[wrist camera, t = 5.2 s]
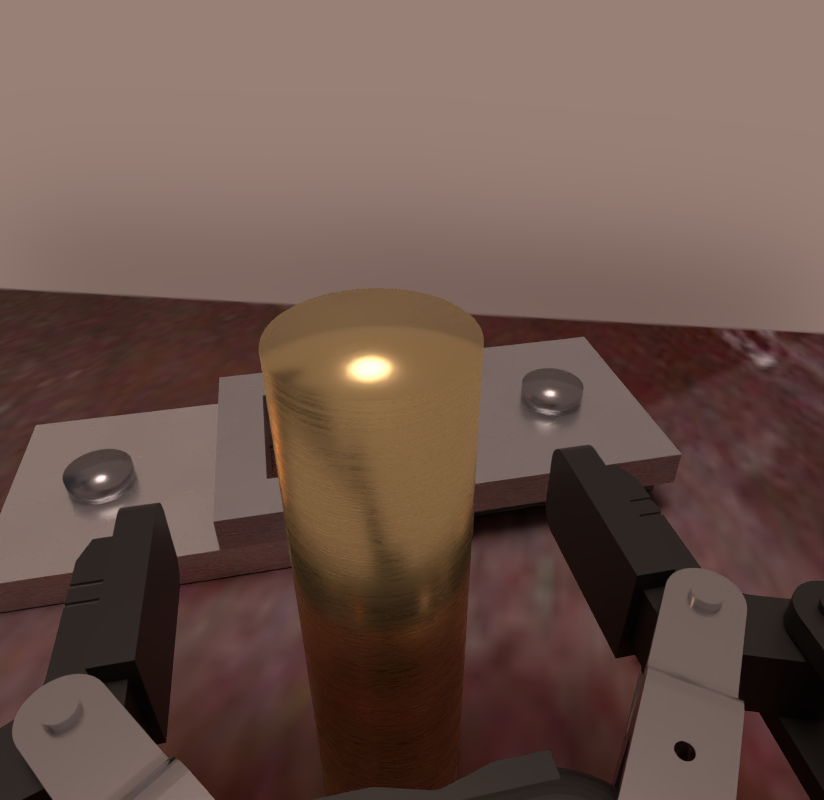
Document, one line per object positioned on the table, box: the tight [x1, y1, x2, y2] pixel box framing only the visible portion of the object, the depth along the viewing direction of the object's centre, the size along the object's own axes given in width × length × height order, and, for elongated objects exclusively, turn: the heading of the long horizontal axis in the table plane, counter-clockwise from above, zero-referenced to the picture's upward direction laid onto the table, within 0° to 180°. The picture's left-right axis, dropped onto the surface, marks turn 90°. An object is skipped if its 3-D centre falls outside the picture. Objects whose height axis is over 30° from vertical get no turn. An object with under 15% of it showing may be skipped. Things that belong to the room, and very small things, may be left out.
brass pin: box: [259, 289, 484, 796], centre depth 13 cm, size 3×3×12 cm
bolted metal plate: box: [0, 337, 681, 612], centre depth 25 cm, size 22×8×3 cm, turn 102°
